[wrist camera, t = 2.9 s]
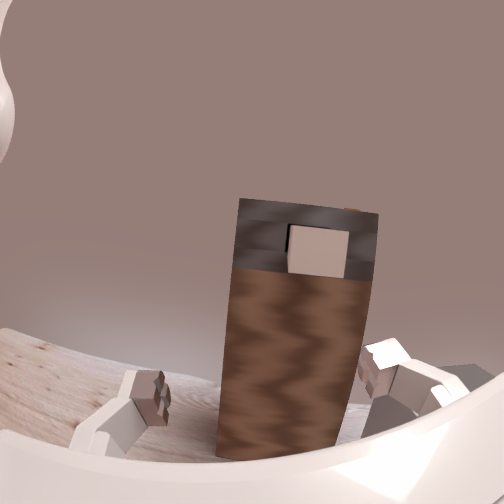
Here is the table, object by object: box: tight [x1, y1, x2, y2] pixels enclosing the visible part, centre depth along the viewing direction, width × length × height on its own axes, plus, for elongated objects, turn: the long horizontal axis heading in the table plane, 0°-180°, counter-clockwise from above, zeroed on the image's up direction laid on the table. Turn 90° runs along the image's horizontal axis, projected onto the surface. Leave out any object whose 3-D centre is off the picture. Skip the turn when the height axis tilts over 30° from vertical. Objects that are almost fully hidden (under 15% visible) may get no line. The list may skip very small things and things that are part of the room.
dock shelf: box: [360, 364, 495, 439], centre depth 18 cm, size 14×16×15 cm
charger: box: [287, 225, 349, 278], centre depth 26 cm, size 4×16×3 cm, turn 174°
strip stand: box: [216, 198, 379, 461], centre depth 32 cm, size 14×10×31 cm
